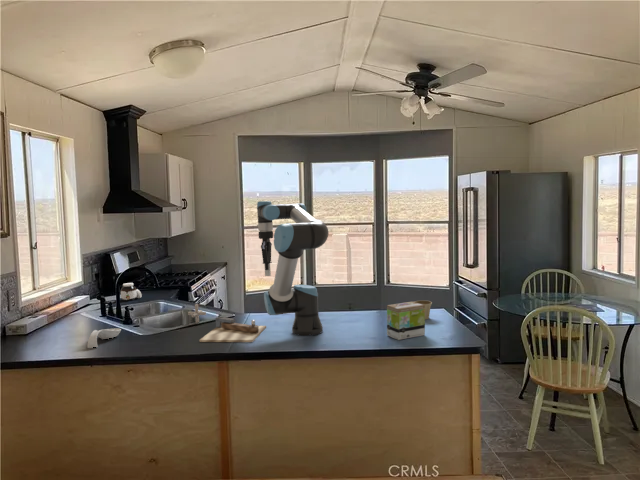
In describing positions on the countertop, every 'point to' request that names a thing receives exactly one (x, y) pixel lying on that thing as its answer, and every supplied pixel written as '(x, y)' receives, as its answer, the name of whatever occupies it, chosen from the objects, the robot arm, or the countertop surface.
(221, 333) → the maple board
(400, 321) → the tea box
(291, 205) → the robot arm
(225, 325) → the brown streaked bar
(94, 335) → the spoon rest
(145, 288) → the countertop surface
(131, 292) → the spread jar
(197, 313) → the pipe connector
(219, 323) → the keeper bracket
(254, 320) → the pintle
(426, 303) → the flower pot
